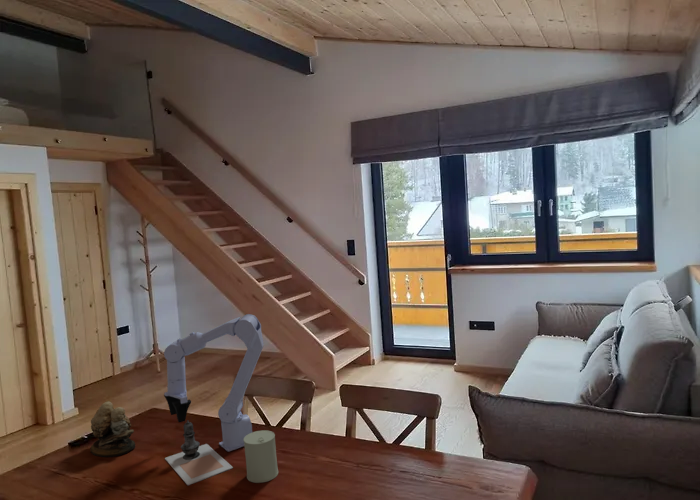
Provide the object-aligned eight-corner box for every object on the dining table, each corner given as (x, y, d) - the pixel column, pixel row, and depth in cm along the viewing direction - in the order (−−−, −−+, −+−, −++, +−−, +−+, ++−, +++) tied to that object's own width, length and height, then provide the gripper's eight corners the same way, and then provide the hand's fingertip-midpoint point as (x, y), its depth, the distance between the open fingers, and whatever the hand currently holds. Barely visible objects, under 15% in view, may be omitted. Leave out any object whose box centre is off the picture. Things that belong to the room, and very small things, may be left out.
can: (252, 486, 146) (248, 445, 145) (243, 472, 154) (239, 434, 153) (282, 476, 150) (279, 436, 149) (272, 463, 158) (269, 425, 157)
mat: (206, 444, 175) (206, 443, 175) (233, 468, 157) (232, 467, 157) (164, 458, 167) (164, 457, 167) (187, 485, 149) (187, 484, 149)
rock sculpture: (146, 444, 179) (141, 396, 178) (119, 460, 168) (113, 410, 167) (109, 438, 186) (103, 392, 185) (80, 453, 176) (74, 405, 174)
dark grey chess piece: (195, 460, 163) (191, 423, 162) (178, 460, 165) (174, 423, 164) (204, 451, 169) (200, 416, 168) (187, 451, 170) (183, 416, 169)
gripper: (157, 374, 175) (159, 413, 176) (171, 386, 163) (172, 428, 164) (178, 370, 179) (179, 408, 180) (193, 382, 168) (194, 422, 169)
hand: (177, 417), depth 173 cm, fingers open, 7 cm apart
